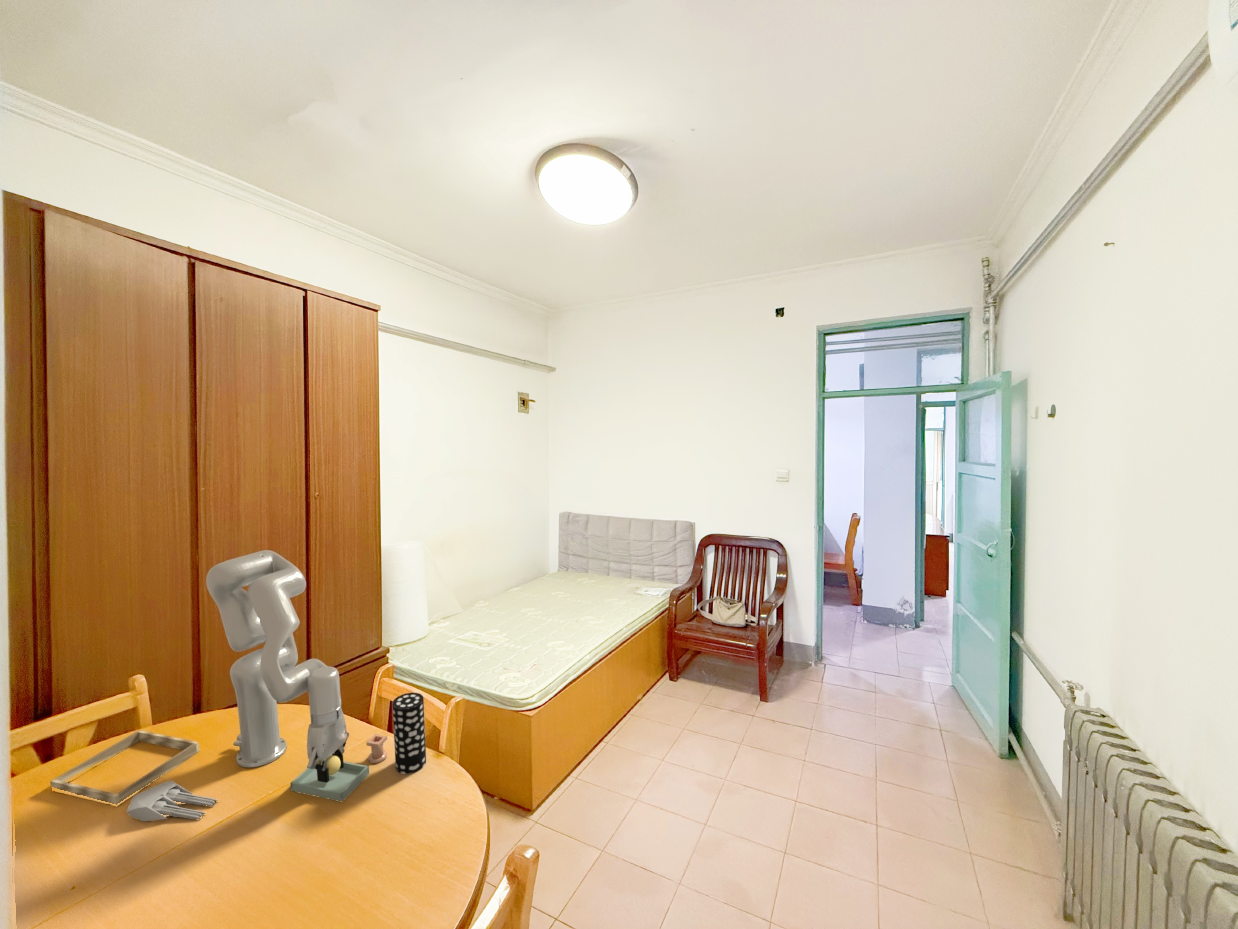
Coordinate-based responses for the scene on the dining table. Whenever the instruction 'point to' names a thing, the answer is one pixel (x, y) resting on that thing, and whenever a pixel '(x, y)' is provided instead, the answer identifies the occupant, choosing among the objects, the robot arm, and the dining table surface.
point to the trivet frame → (143, 736)
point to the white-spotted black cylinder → (409, 733)
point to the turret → (166, 803)
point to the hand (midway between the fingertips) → (330, 773)
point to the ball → (333, 764)
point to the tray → (331, 782)
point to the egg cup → (377, 748)
